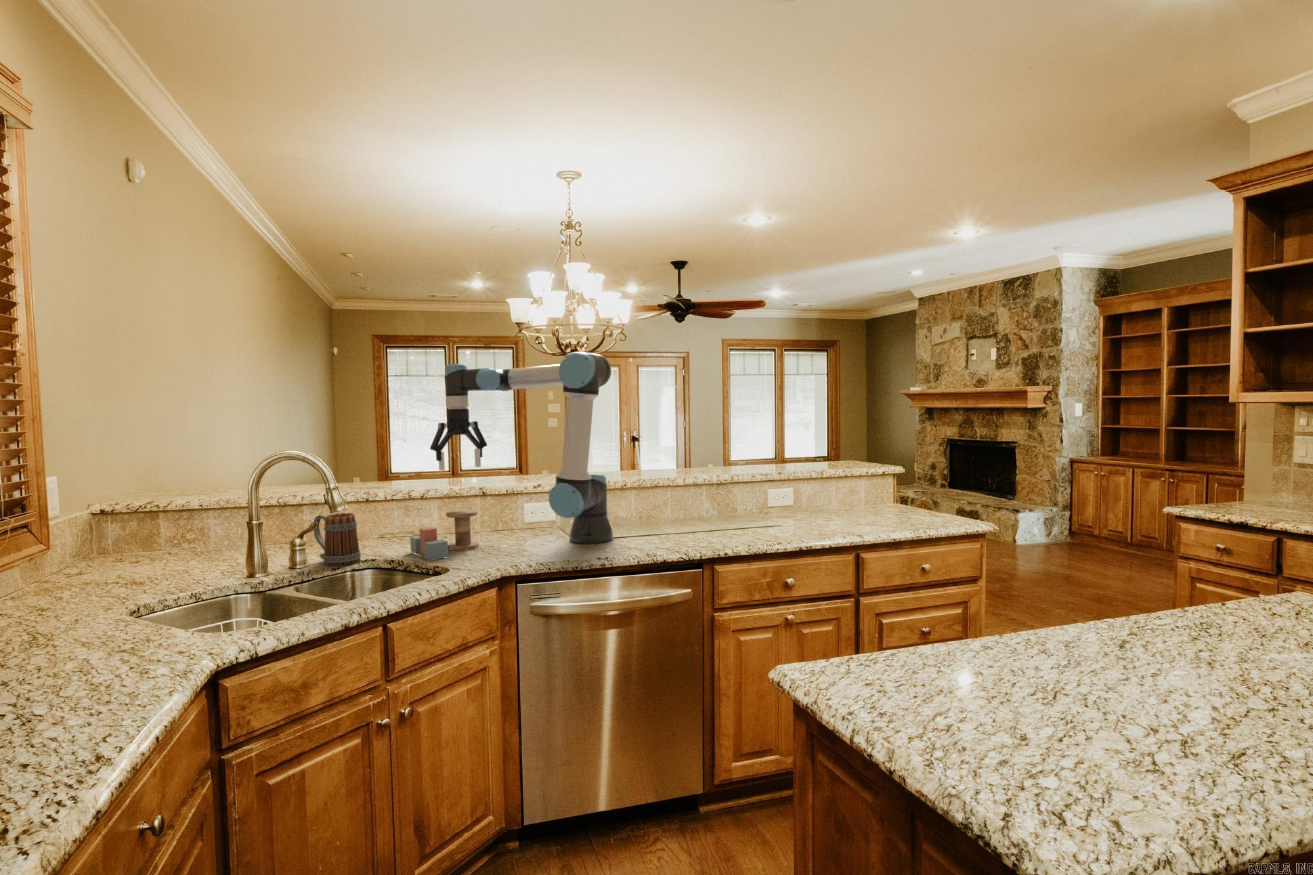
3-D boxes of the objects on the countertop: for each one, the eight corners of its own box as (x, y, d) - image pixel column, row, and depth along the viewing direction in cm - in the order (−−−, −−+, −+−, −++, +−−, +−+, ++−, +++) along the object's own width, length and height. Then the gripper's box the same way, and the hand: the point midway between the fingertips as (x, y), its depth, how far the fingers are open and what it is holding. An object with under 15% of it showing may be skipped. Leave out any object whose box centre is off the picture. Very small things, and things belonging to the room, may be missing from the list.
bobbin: (483, 547, 229) (482, 512, 228) (455, 552, 223) (454, 515, 222) (470, 542, 237) (469, 508, 236) (443, 547, 230) (441, 512, 230)
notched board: (448, 557, 215) (447, 541, 215) (429, 560, 211) (429, 544, 211) (428, 549, 227) (428, 534, 227) (410, 552, 223) (410, 537, 223)
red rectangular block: (437, 553, 219) (436, 528, 218) (425, 555, 216) (424, 530, 216) (432, 551, 222) (431, 527, 221) (420, 553, 219) (419, 528, 219)
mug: (368, 559, 214) (366, 512, 214) (343, 567, 205) (340, 518, 204) (329, 557, 220) (327, 511, 219) (303, 564, 210) (300, 516, 209)
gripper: (484, 407, 249) (487, 464, 250) (418, 409, 232) (421, 471, 233) (494, 407, 243) (497, 466, 244) (427, 409, 227) (430, 472, 228)
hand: (460, 468), depth 239 cm, fingers open, 13 cm apart
